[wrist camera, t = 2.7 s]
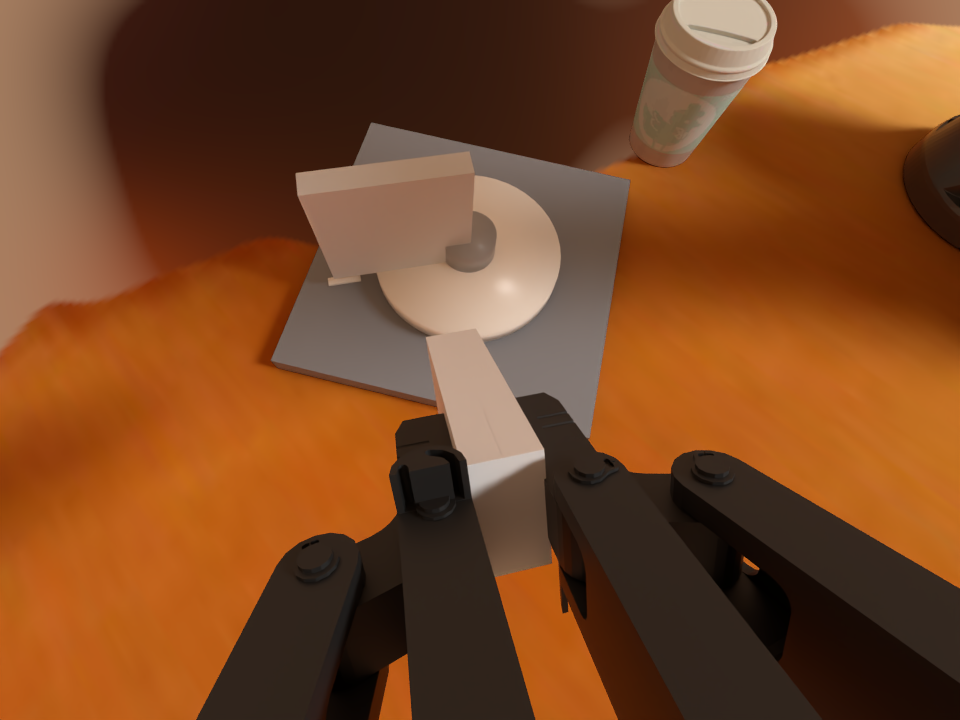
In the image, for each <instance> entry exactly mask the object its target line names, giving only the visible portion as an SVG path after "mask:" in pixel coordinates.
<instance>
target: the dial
mask: <svg viewBox="0 0 960 720" xmlns="http://www.w3.org/2000/svg"><path fill="white" fill-rule="evenodd" d="M296 182H297V193H298V197H299V200H300V202H301V204H302V207H303V209H304V211H305V214H306V216H307V218H308V220H309V223H310V225H311V227H312V230H313V232H314V234H315V236H316V238H317V241H318V243H319V246H320V248H321V250H322V252H323V255H324V257H325V259H326V262H327V264H328V266H329V268H330V271H331V273H332V275H333V278H334V279H338V278H344V277H351V276H357V275H364V274H371V273H377V276H378V280H379V283H380V286H381V289H382V291H383V294H384V296H385V297H386V299H387V301H388V303H389V304H390V305H391V307H392V308H393V309H394V310H395V312H396V313H397V314H398V315H399V316H400V317H401V318H402V319H403V320H404V321H406V322H407V323H408V324H410V325H411V326H412V327H414V328H416V329H417V330H419V331H421V332H423V333H425V334H427V335H430V336H435V335H441V334H446V333H452V332H458V331H464V330H470V329H475V328H476V330H477V331H478V333H479V335H480V337H481V339H482V340H483V342H488V341H492V340H496V339H500V338H502V337H505V336H508V335H510V334H512V333H514V332H516V331H518V330H520V329H521V328H523V327H524V326H525V325H527V324H528V323H530V322H531V321H532V320H533V319H534V318H535V317H536V316H537V315H538V314H539V313H540V311H541V310H542V309H543V308H544V306H545V305H546V303H547V301H548V300H549V298H550V296H551V293H552V291H553V288H554V286H555V283H556V280H557V278H558V274H559V269H560V261H561V252H560V244H559V239H558V236H557V233H556V230H555V228H554V226H553V224H552V222H551V220H550V218H549V217H548V215H547V214H546V213H545V211H544V210H543V209H542V208H541V207H540V206H539V205H538V204H537V202H536V201H534V200H533V199H532V198H531V197H530V196H528V195H527V194H526V193H524V192H522V191H521V190H519V189H518V188H516V187H514V186H512V185H510V184H508V183H505V182H502V181H500V180H497V179H493V178H489V177H484V176H477V175H475V172H474V168H473V164H472V160H471V156H470V152H469V151H468V152H460V153H452V154H444V155H436V156H428V157H420V158H412V159H404V160H396V161H388V162H380V163H372V164H364V165H356V166H348V167H340V168H332V169H324V170H317V171H309V172H301V173H296Z"/></svg>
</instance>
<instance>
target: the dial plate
mask: <svg viewBox="0 0 960 720" xmlns="http://www.w3.org/2000/svg"><path fill="white" fill-rule="evenodd" d="M468 151H469V152H470V156H471V160H472V164H473V168H474V172H475V175H477V176H484V177H489V178H493V179H497V180H500V181H502V182H505V183H508V184H510V185H512V186H514V187H516V188H518V189H519V190H521V191H522V192H524V193H526V194H527V195H528V196H530V197H531V198H532V199H533V200H534V201H536V202H537V204H538V205H539V206H540V207H541V208H542V209H543V210H544V211H545V213H546V214H547V215H548V217H549V218H550V220H551V222H552V224H553V226H554V228H555V230H556V233H557V236H558V239H559V244H560V252H561V261H560V269H559V274H558V278H557V280H556V283H555V286H554V288H553V291H552V293H551V296H550V298H549V300H548V301H547V303H546V305H545V306H544V308H543V309H542V310H541V311H540V313H539V314H538V315H537V316H536V317H535V318H534V319H533V320H532V321H531V322H530V323H528V324H527V325H525V326H524V327H523V328H521V329H520V330H518V331H516V332H514V333H512V334H510V335H508V336H505V337H502V338H500V339H496V340H492V341H488V342H484V344H485V346H486V347H487V349H488V351H489V353H490V354H491V356H492V358H493V360H494V362H495V363H496V365H497V367H498V369H499V370H500V372H501V374H502V376H503V377H504V379H505V381H506V383H507V384H508V386H509V388H510V390H511V392H512V393H513V395H514V397H515V398H516V397H522V396H527V395H532V394H537V393H542V392H544V393H546V394H548V395H550V396H552V397H554V398H556V399H557V400H559V401H560V403H561V404H562V405H563V407H564V408H565V409H566V411H567V413H568V414H569V415H570V416H571V418H572V419H573V421H574V423H576V424H577V426H578V427H579V429H580V430H581V431H582V433H583V434H584V435H585V437H586V438H587V439H589V438H590V432H591V426H592V419H593V413H594V407H595V400H596V394H597V388H598V381H599V375H600V369H601V362H602V356H603V350H604V343H605V337H606V331H607V325H608V318H609V312H610V306H611V299H612V293H613V287H614V280H615V274H616V268H617V261H618V255H619V249H620V242H621V236H622V230H623V224H624V217H625V211H626V205H627V198H628V192H629V186H630V180H628V179H623V178H619V177H614V176H610V175H605V174H601V173H596V172H592V171H587V170H582V169H578V168H574V167H569V166H564V165H560V164H556V163H551V162H546V161H542V160H538V159H533V158H529V157H524V156H520V155H515V154H510V153H506V152H502V151H497V150H492V149H488V148H484V147H479V146H474V145H470V144H465V143H460V142H456V141H451V140H447V139H442V138H438V137H433V136H429V135H425V134H420V133H416V132H411V131H407V130H402V129H398V128H393V127H389V126H384V125H380V124H375V123H371V125H370V127H369V129H368V132H367V134H366V137H365V139H364V141H363V144H362V146H361V148H360V151H359V153H358V155H357V158H356V160H355V163H354V165H353V166H356V165H364V164H372V163H380V162H388V161H396V160H404V159H412V158H420V157H428V156H436V155H444V154H452V153H460V152H468ZM429 336H430V335H427V334H425V333H423V332H421V331H419V330H417V329H416V328H414V327H412V326H411V325H410V324H408V323H407V322H406V321H404V320H403V319H402V318H401V317H400V316H399V315H398V314H397V313H396V312H395V310H394V309H393V308H392V307H391V305H390V304H389V303H388V301H387V299H386V297H385V296H384V294H383V291H382V289H381V286H380V283H379V280H378V276H377V273H371V274H364V275H357V276H351V277H344V278H338V279H334V278H333V275H332V273H331V271H330V268H329V266H328V264H327V262H326V259H325V257H324V255H323V252H322V250H321V248H320V246H319V248H318V250H317V252H316V255H315V257H314V259H313V262H312V264H311V267H310V269H309V271H308V274H307V276H306V278H305V281H304V283H303V285H302V288H301V290H300V293H299V295H298V297H297V300H296V302H295V304H294V307H293V309H292V311H291V314H290V316H289V319H288V321H287V323H286V326H285V328H284V330H283V333H282V335H281V338H280V340H279V342H278V345H277V347H276V349H275V352H274V354H273V356H272V359H271V361H272V363H273V364H274V365H275V366H276V367H277V368H280V369H284V370H288V371H292V372H296V373H300V374H304V375H309V376H313V377H317V378H321V379H325V380H329V381H333V382H337V383H341V384H345V385H350V386H354V387H358V388H362V389H366V390H370V391H374V392H378V393H382V394H386V395H391V396H395V397H399V398H403V399H407V400H411V401H415V402H419V403H423V404H427V405H432V406H436V407H437V402H436V396H435V390H434V384H433V378H432V372H431V366H430V360H429V354H428V348H427V342H426V337H429Z"/></svg>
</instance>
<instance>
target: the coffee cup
mask: <svg viewBox="0 0 960 720" xmlns="http://www.w3.org/2000/svg"><path fill="white" fill-rule="evenodd" d="M776 29H777V19H776V15H775V13H774V11H773V9H772V7H771V6H770V5H769V3H768V2H767V1H766V0H672V1H671V2H670V3H669V4H668V5H667V6H666V7H665V8H664V10H663V12H662V14H661V15H660V17H659V18H658V20H657V23H656V26H655V37H656V40H655V43H654V47H653V50H652V54H651V58H650V61H649V65H648V69H647V72H646V76H645V80H644V84H643V87H642V91H641V95H640V98H639V102H638V106H637V109H636V113H635V117H634V121H633V124H632V128H631V133H630V136H629V140H630V145H631V147H632V149H633V151H634V152H635V154H636V155H637V156H638V157H639V158H641V159H642V160H643V161H645V162H647V163H649V164H651V165H654V166H659V167H673V166H676V165H679V164H681V163H683V162H684V161H685V160H686V159H687V158H688V157H689V156H690V154H691V153H692V152H693V150H694V149H695V148H696V147H697V145H698V144H699V143H700V142H701V140H702V139H703V138H704V136H705V135H706V134H707V133H708V131H709V130H710V129H711V127H712V126H713V125H714V124H715V122H716V121H717V120H718V118H719V117H720V116H721V115H722V113H723V112H724V111H725V109H726V108H727V107H728V106H729V104H730V103H731V102H732V100H733V99H734V98H735V97H736V95H737V94H738V93H739V91H740V90H741V89H742V88H743V86H744V85H745V84H746V82H747V81H748V80H749V78H750V77H751V76H753V75H755V74H756V73H758V72H759V71H760V70H761V69H762V68H763V67H764V66H765V64H766V63H767V60H768V58H769V55H770V53H771V51H772V48H773V39H774V35H775V33H776Z"/></svg>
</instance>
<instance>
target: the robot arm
mask: <svg viewBox="0 0 960 720" xmlns="http://www.w3.org/2000/svg"><path fill="white" fill-rule="evenodd" d="M904 182H905V187H906V190H907V193H908V195H909V198H910V200H911V202H912V203H913V205H914V207H915V208H916V210H917V211H918V213H919V214H920V215H921V217H922V218H923V219H924V220H925V221H926V223H927V224H928V225H929V226H930V227H931V228H932V229H933V230H934V231H935V232H937V233H938V234H939V235H940V236H941V237H943V238H944V239H945V240H947V241H948V242H949V243H951V244H952V245H954V246H956V247H957V248H959V249H960V115H957V116H955V117H953V118H950V119H948V120H946V121H945V122H943V123H941V124H940V125H938V126H937V127H935V128H934V129H933V130H932V131H931V132H930V133H928V134H927V135H926V136H925V137H924V138H923V139H922V140H920V141H919V142H918V143H917V144H916V145H915V146H914V147H913V148H912V149H911V151H910V152H909V154H908V155H907V158H906V160H905V164H904ZM426 342H427V348H428V354H429V360H430V366H431V372H432V378H433V384H434V390H435V396H436V402H437V408H438V414H436V415H431V416H426V417H421V418H416V419H411V420H405V421H403V422H402V423H401V425H400V427H399V428H398V430H397V432H396V433H395V438H396V451H397V461H396V462H395V463H394V464H393V465H392V467H391V470H390V474H389V478H390V483H391V487H392V491H393V496H394V500H395V505H396V509H397V515H396V516H395V518H394V519H393V520H392V521H391V522H390V524H388V525H387V526H386V527H385V528H384V529H382V530H381V531H379V532H378V533H376V534H374V535H373V536H371V537H369V538H367V539H365V540H362V541H360V542H358V543H355V541H354V540H353V539H351V538H349V537H348V536H346V535H344V534H336V533H327V534H322V535H317V536H313V537H311V538H309V539H307V540H305V541H302V542H300V543H299V544H297V545H296V546H295V547H293V548H292V549H291V550H289V551H288V552H287V553H286V554H285V555H284V556H283V558H282V559H281V560H280V562H279V563H278V564H277V566H276V568H275V570H274V572H273V574H272V575H271V577H270V579H269V581H268V583H267V585H266V587H265V589H264V591H263V593H262V595H261V597H260V598H259V600H258V602H257V604H256V606H255V608H254V610H253V612H252V614H251V616H250V618H249V620H248V621H247V623H246V625H245V627H244V629H243V631H242V633H241V635H240V637H239V639H238V641H237V642H236V644H235V646H234V648H233V650H232V652H231V654H230V656H229V658H228V660H227V662H226V664H225V665H224V667H223V669H222V671H221V673H220V675H219V677H218V679H217V681H216V683H215V685H214V687H213V688H212V690H211V692H210V694H209V696H208V698H207V700H206V702H205V704H204V706H203V708H202V710H201V711H200V713H199V715H198V717H197V719H196V720H379V715H380V710H381V706H382V701H383V696H384V691H385V687H386V682H387V677H388V673H389V664H391V663H392V662H394V661H396V660H397V659H399V658H401V657H402V656H404V655H406V654H407V653H408V667H409V681H410V695H411V709H412V720H535V717H534V713H533V710H532V706H531V703H530V699H529V696H528V692H527V689H526V685H525V682H524V678H523V675H522V671H521V668H520V664H519V661H518V657H517V654H516V650H515V647H514V643H513V640H512V636H511V633H510V629H509V626H508V622H507V619H506V615H505V612H504V608H503V605H502V601H501V598H500V594H499V591H498V587H497V584H496V580H495V577H497V576H501V575H505V574H509V573H513V572H518V571H522V570H526V569H530V568H534V567H538V566H542V565H547V564H551V563H552V557H551V546H552V548H553V550H554V552H555V555H556V557H557V559H558V562H559V579H560V596H561V606H562V612H563V613H566V612H568V602H569V605H570V607H571V610H572V612H573V614H574V617H575V619H576V621H577V624H578V626H579V628H580V631H581V633H582V635H583V638H584V640H585V642H586V645H587V647H588V650H589V652H590V654H591V657H592V659H593V661H594V664H595V666H596V668H597V671H598V673H599V675H600V678H601V680H602V682H603V685H604V687H605V689H606V692H607V694H608V697H609V699H610V701H611V704H612V706H613V708H614V711H615V713H616V715H617V718H618V720H960V589H959V588H958V587H956V586H954V585H953V584H951V583H949V582H947V581H946V580H944V579H942V578H941V577H939V576H937V575H935V574H934V573H932V572H930V571H929V570H927V569H925V568H924V567H922V566H920V565H918V564H917V563H915V562H913V561H912V560H910V559H908V558H906V557H905V556H903V555H901V554H900V553H898V552H896V551H894V550H893V549H891V548H889V547H888V546H886V545H884V544H883V543H881V542H879V541H877V540H876V539H874V538H872V537H871V536H869V535H867V534H865V533H864V532H862V531H860V530H859V529H857V528H855V527H853V526H852V525H850V524H848V523H847V522H845V521H843V520H842V519H840V518H838V517H836V516H835V515H833V514H831V513H830V512H828V511H826V510H824V509H823V508H821V507H819V506H818V505H816V504H814V503H812V502H811V501H809V500H807V499H806V498H804V497H802V496H800V495H799V494H797V493H795V492H794V491H792V490H790V489H789V488H787V487H785V486H783V485H782V484H780V483H778V482H777V481H775V480H773V479H771V478H770V477H768V476H766V475H765V474H763V473H761V472H759V471H758V470H756V469H754V468H753V467H751V466H749V465H748V464H746V463H744V462H742V461H741V460H739V459H737V458H734V457H732V456H730V455H727V454H725V453H720V452H715V451H710V450H695V451H691V452H687V453H683V454H682V455H680V456H679V457H677V458H676V459H675V460H674V462H673V465H672V467H671V474H643V473H632V472H629V471H628V470H627V469H626V468H625V466H624V465H623V464H622V463H621V462H619V461H618V460H617V459H616V458H614V457H612V456H609V455H607V454H605V453H600V452H596V450H595V449H594V448H593V446H592V445H591V444H590V442H589V441H588V439H587V438H586V437H585V435H584V434H583V433H582V431H581V430H580V429H579V427H578V426H577V424H576V423H574V421H573V419H572V418H571V416H570V415H569V414H568V413H567V411H566V409H565V408H564V407H563V405H562V404H561V403H560V401H559V400H557V399H556V398H554V397H552V396H550V395H548V394H546V393H544V392H542V393H537V394H532V395H527V396H522V397H516V398H515V397H514V395H513V393H512V392H511V390H510V388H509V386H508V384H507V383H506V381H505V379H504V377H503V376H502V374H501V372H500V370H499V369H498V367H497V365H496V363H495V362H494V360H493V358H492V356H491V354H490V353H489V351H488V349H487V347H486V346H485V344H484V342H483V340H482V339H481V337H480V335H479V333H478V331H477V330H476V328H475V329H470V330H464V331H458V332H452V333H446V334H441V335H435V336H429V337H426ZM743 557H746V558H747V559H748V560H750V561H751V562H752V563H754V564H755V565H756V566H757V567H759V568H760V569H759V570H755V569H753V568H752V567H750V566H749V565H747V564H746V563H745V562H743Z"/></svg>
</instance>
